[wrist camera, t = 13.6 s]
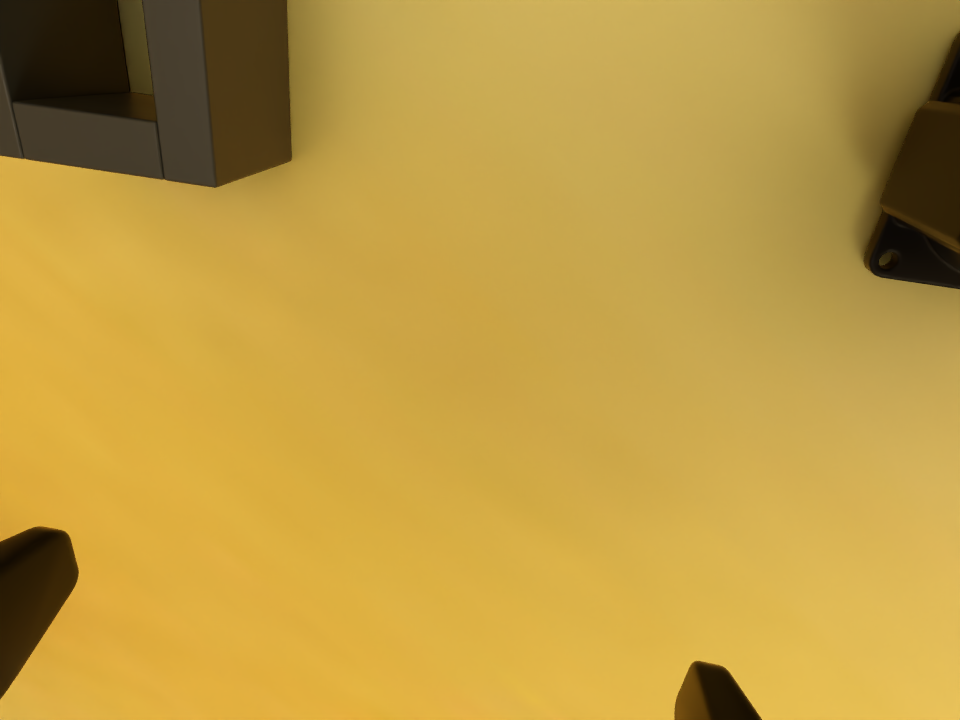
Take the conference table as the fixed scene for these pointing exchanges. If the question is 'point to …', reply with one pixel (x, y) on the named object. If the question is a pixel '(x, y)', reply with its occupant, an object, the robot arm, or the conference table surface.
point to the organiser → (176, 85)
